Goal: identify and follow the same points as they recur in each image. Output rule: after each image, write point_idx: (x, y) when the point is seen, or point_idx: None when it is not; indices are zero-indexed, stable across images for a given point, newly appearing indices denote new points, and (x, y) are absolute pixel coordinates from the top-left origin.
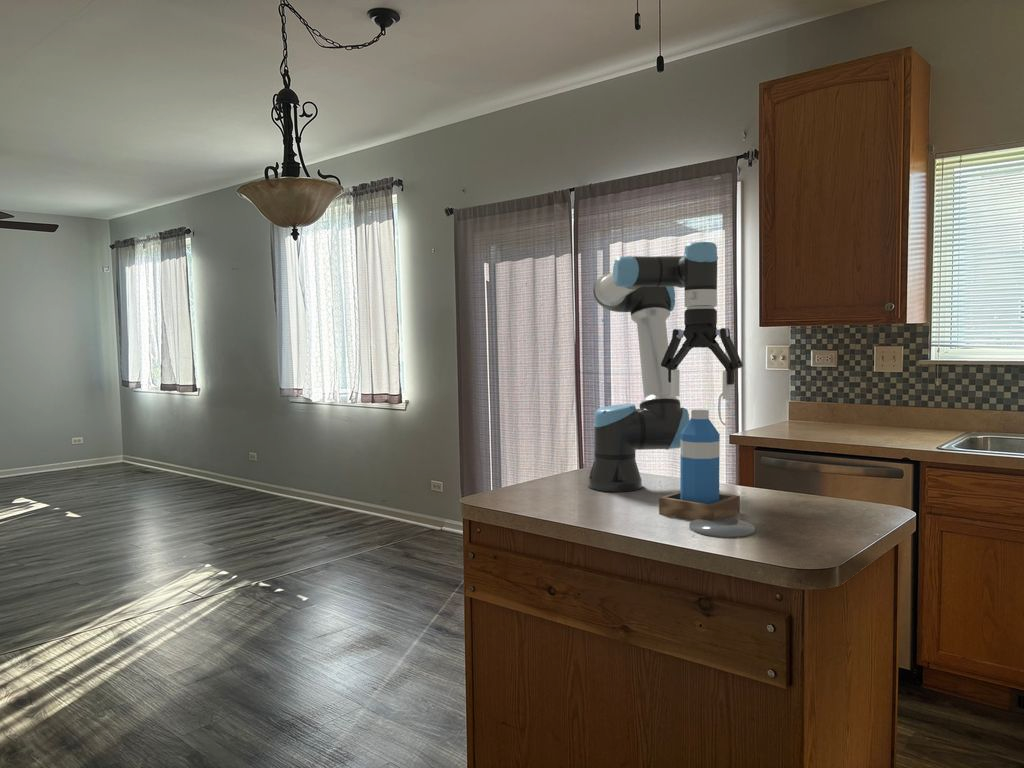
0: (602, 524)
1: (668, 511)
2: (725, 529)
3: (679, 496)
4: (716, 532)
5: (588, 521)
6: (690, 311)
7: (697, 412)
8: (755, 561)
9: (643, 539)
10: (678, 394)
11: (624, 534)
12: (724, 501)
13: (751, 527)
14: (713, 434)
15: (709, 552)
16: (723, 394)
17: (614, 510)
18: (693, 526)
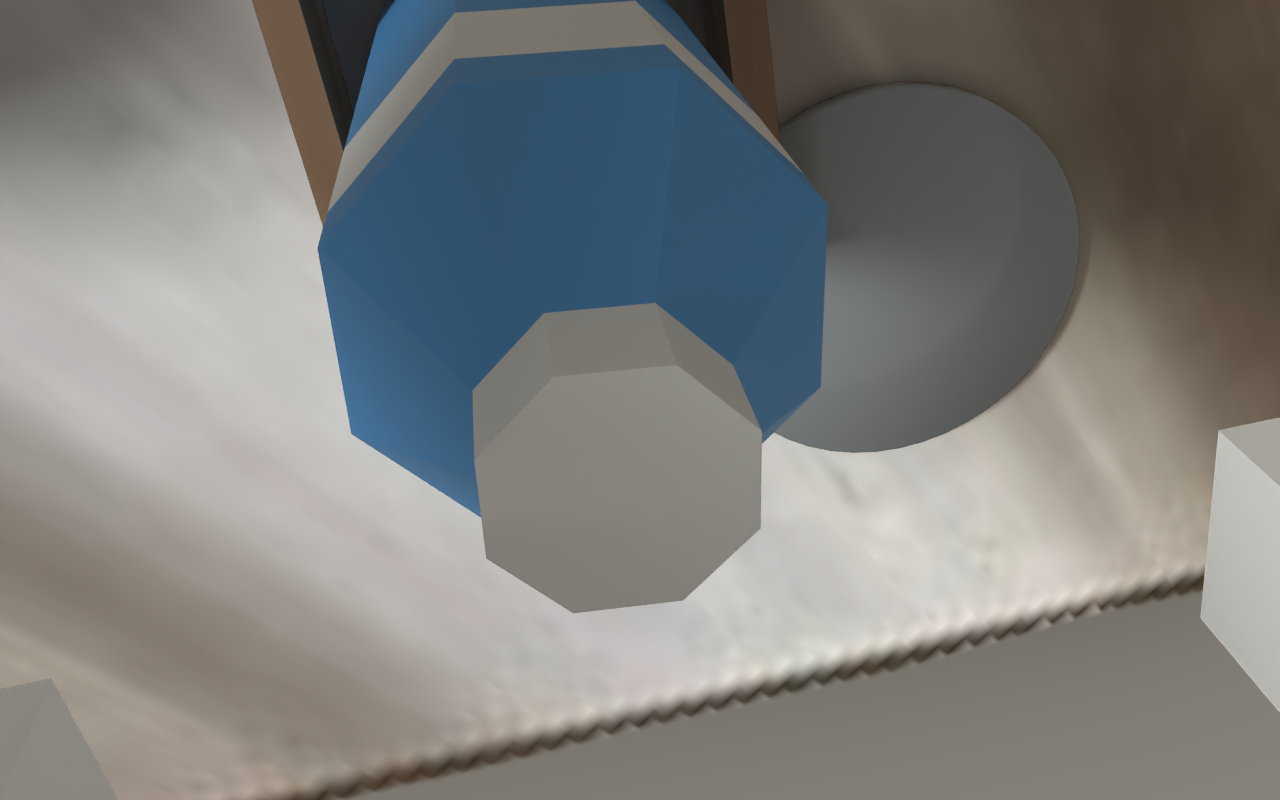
0: (374, 685)
1: None
2: (952, 336)
3: (336, 109)
4: (948, 419)
5: (275, 704)
6: None
7: (672, 587)
8: None
9: (718, 693)
10: (57, 735)
11: (597, 707)
12: (771, 74)
13: (1044, 185)
14: (819, 329)
15: (1050, 611)
16: (1270, 672)
17: (114, 453)
18: (786, 424)
